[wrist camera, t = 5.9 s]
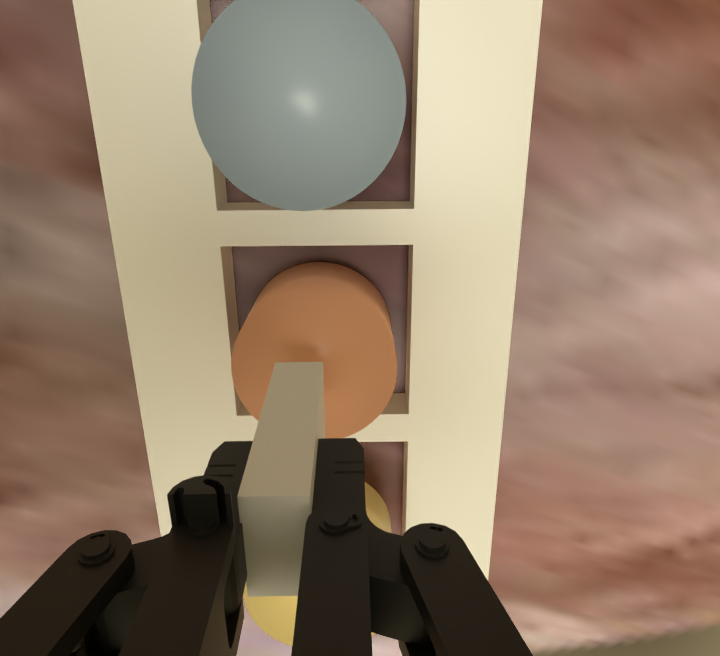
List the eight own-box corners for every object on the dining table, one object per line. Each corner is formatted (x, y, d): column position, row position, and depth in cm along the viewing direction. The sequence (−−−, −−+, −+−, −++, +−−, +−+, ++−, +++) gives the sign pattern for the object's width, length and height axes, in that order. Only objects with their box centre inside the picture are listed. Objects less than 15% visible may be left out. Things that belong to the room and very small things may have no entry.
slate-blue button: (230, 193, 21) (203, 212, 17) (214, 5, 19) (178, -20, 15) (395, 191, 21) (404, 210, 17) (398, 4, 19) (408, -21, 15)
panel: (181, 564, 31) (170, 594, 29) (89, -43, 21) (63, -58, 19) (479, 560, 31) (486, 590, 29) (531, -46, 21) (548, -61, 19)
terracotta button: (255, 393, 26) (238, 442, 22) (244, 262, 23) (223, 292, 20) (390, 392, 26) (396, 441, 22) (391, 261, 23) (398, 290, 20)
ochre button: (263, 577, 27) (249, 651, 24) (254, 470, 25) (237, 534, 21) (389, 575, 27) (395, 649, 24) (391, 469, 25) (397, 532, 22)
